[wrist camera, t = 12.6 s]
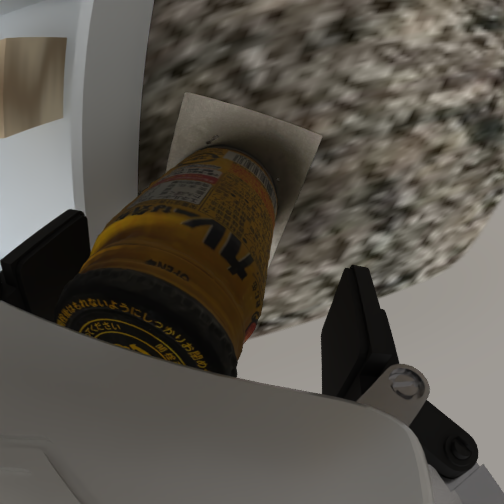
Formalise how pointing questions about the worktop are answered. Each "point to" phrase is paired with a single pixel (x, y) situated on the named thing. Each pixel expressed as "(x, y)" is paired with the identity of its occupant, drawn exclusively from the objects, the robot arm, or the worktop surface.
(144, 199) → the condiment
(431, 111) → the worktop surface
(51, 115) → the cube
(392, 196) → the worktop surface
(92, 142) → the tote
